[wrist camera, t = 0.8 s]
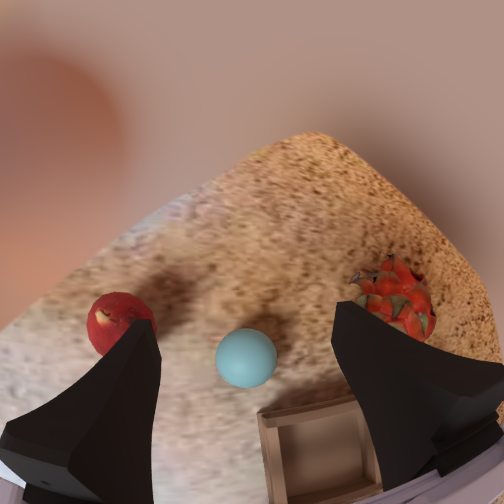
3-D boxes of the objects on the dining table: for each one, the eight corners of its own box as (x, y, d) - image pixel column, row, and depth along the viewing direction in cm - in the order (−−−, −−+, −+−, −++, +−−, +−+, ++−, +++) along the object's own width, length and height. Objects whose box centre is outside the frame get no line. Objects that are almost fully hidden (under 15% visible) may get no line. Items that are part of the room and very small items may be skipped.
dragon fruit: (350, 385, 27) (361, 285, 33) (432, 384, 22) (431, 279, 29) (330, 360, 21) (345, 238, 28) (441, 357, 17) (430, 229, 23)
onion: (166, 308, 27) (146, 280, 19) (160, 369, 24) (136, 363, 17) (110, 302, 26) (75, 272, 19) (102, 360, 24) (61, 348, 17)
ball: (275, 383, 25) (286, 383, 20) (219, 390, 24) (218, 392, 20) (268, 330, 27) (277, 319, 22) (213, 336, 26) (211, 325, 22)
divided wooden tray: (437, 449, 22) (456, 452, 19) (270, 506, 19) (276, 520, 16) (428, 369, 26) (448, 366, 23) (256, 413, 23) (261, 417, 20)
